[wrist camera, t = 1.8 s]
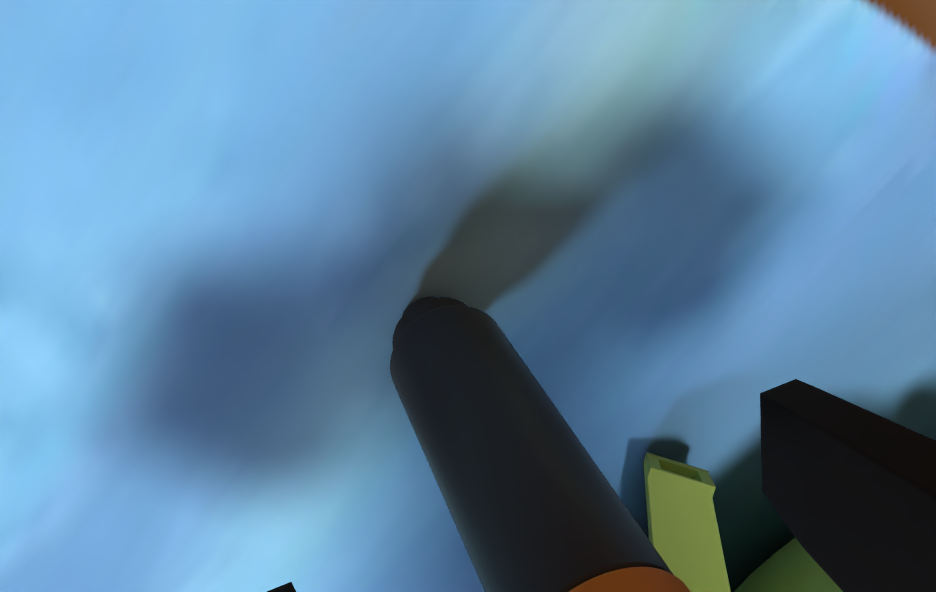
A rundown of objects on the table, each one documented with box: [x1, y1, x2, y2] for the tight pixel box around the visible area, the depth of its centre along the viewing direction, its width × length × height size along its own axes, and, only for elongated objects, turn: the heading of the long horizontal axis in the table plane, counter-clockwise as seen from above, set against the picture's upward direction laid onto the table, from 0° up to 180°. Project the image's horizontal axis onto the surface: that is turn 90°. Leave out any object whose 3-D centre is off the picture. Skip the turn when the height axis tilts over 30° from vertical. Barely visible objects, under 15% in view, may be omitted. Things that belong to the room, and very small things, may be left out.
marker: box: [390, 297, 690, 592], centre depth 14 cm, size 2×2×9 cm
